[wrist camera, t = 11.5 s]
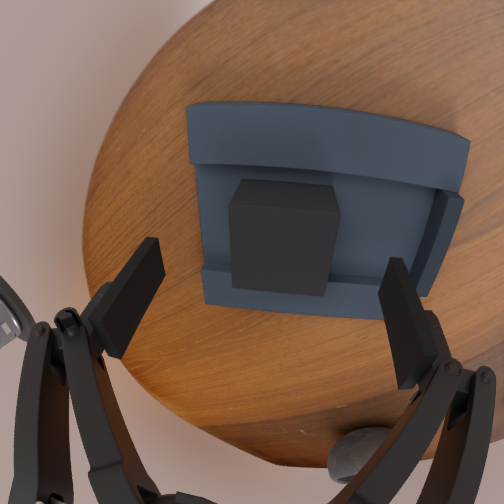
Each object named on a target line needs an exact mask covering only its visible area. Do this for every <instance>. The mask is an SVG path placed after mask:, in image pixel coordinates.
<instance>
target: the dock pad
mask: <svg viewBox="0 0 504 504" xmlns="http://www.w3.org/2000/svg"><path fill="white" fill-rule="evenodd" d="M186 110H187V128H188V144H189V158H190V164H195V166H196V180H197V192H198V204H199V215H200V225H201V235H202V245H203V254H204V264H203V266H202V268H201V274H202V282H203V289H204V296H205V303H206V304H211V305H219V306H226V307H235V308H243V309H252V310H261V311H270V312H280V313H291V314H302V315H314V316H328V317H342V318H359V319H379V320H384V317H383V313H382V309H381V305H380V301H379V297H378V291H379V289H380V286H381V283H382V280H383V277H384V274H385V271H386V269H387V266H388V262H389V259H390V257H397V258H403V261H404V263H405V265H406V267H407V270H408V272H409V274H410V277H411V279H412V281H413V284H414V286H415V289H416V291H417V293H418V296H419V297H427V296H428V293H429V291H430V289H431V287H432V285H433V283H434V281H435V278H436V276H437V274H438V272H439V269H440V267H441V265H442V262H443V260H444V257H445V255H446V252H447V250H448V247H449V245H450V242H451V239H452V237H453V234H454V231H455V228H456V225H457V223H458V220H459V217H460V214H461V210H462V207H463V204H464V199H463V198H462V197H461V196H460V195H459V194H458V193H459V190H460V186H461V182H462V178H463V174H464V170H465V166H466V162H467V157H468V152H469V148H470V142H471V141H470V140H468V139H466V138H464V137H462V136H460V135H458V134H456V133H452V132H449V131H446V130H442V129H439V128H435V127H432V126H428V125H424V124H420V123H416V122H412V121H408V120H403V119H399V118H394V117H389V116H384V115H379V114H373V113H368V112H362V111H355V110H349V109H341V108H334V107H325V106H316V105H305V104H292V103H274V102H203V103H195V104H192V105H189V106H187V107H186ZM241 179H255V180H271V181H284V182H297V183H308V184H318V185H328V186H333V188H334V191H335V195H336V199H337V202H338V206H339V210H340V220H339V226H338V232H337V237H336V242H335V248H334V253H333V258H332V263H331V267H330V272H329V277H328V281H327V286H326V290H325V295H324V297H320V296H308V295H297V294H286V293H276V292H266V291H256V290H246V289H237V288H232V278H231V257H230V235H229V210H228V204H229V202H230V200H231V198H232V197H233V195H234V193H235V191H236V189H237V187H238V185H239V183H240V181H241Z"/></svg>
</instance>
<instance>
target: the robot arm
mask: <svg viewBox="0 0 504 504" xmlns="http://www.w3.org/2000/svg"><path fill="white" fill-rule="evenodd" d="M165 275H166V274H165V270H164V265H163V260H162V256H161V251H160V246H159V241H158V238H154V237H146V238H145V239H144V241H143V242H142V243H141V245H140V246H139V247H138V249H137V250H136V251H135V252H134V254H133V255H132V256H131V258H130V259H129V260H128V262H127V263H126V264H125V266H124V267H123V269H122V270H121V271H120V273H119V274H118V275H117V277H116V278H115V280H114V281H113V282H106V283H105V284H104V285H102V286H101V287H100V288H99V289H98V291H97V292H96V294H95V295H94V296H93V298H92V299H91V301H90V302H89V303H88V305H87V307H86V308H85V310H84V311H83V312H82V314H81V315H80V316H79V314H78V312H77V310H76V309H74V308H71V307H68V308H64V309H63V310H60V311H59V312H58V313H57V315H56V316H55V318H54V323H55V324H56V326H57V328H53V329H51V327H50V325H49V324H48V323H47V322H39V323H37V324H35V325H34V326H33V327H32V329H31V331H30V334H29V338H28V342H27V347H26V351H25V356H24V361H23V366H22V372H21V378H20V384H19V391H18V398H17V407H16V417H15V431H14V478H13V482H12V487H11V491H10V496H9V501H8V504H73V500H74V497H73V496H74V492H73V481H72V472H71V461H70V443H69V390H70V395H71V400H72V404H73V409H74V412H75V417H76V421H77V425H78V428H79V432H80V436H81V438H82V442H83V445H84V449H85V452H86V455H87V458H88V461H89V464H90V471H89V472H88V477H89V480H90V484H91V486H92V489H93V491H94V493H95V496H96V498H97V501H98V503H99V504H217V503H214V502H212V501H210V500H207V499H205V498H202V497H198V496H194V495H190V494H185V493H181V492H177V493H176V494H166V495H161V494H160V492H159V490H158V488H157V487H156V485H155V483H154V482H153V480H152V479H151V478H150V477H149V475H148V474H147V472H146V470H145V468H144V466H143V464H142V462H141V460H140V458H139V456H138V453H137V451H136V449H135V447H134V444H133V442H132V440H131V437H130V435H129V432H128V430H127V427H126V425H125V422H124V420H123V417H122V414H121V411H120V409H119V406H118V403H117V400H116V397H115V395H114V391H113V388H112V385H111V382H110V379H109V375H108V372H107V369H106V365H105V362H104V358H103V356H102V355H101V354H102V353H103V350H104V349H105V351H106V353H107V354H108V356H110V357H114V358H118V359H122V357H123V355H124V353H125V351H126V349H127V347H128V345H129V343H130V341H131V339H132V337H133V335H134V333H135V331H136V329H137V327H138V325H139V323H140V321H141V319H142V318H143V316H144V314H145V312H146V310H147V308H148V306H149V304H150V303H151V301H152V299H153V297H154V295H155V293H156V292H157V290H158V288H159V286H160V284H161V283H162V281H163V279H164V277H165ZM378 297H379V301H380V305H381V309H382V313H383V317H384V321H385V325H386V329H387V334H388V338H389V343H390V347H391V352H392V357H393V362H394V367H395V373H396V378H397V384H398V390H401V389H412V388H413V387H414V386H415V385H416V384H417V382H418V385H419V390H418V391H417V392H416V393H415V394H414V395H413V397H412V398H411V399H410V400H411V402H410V403H409V405H408V407H407V408H406V410H405V411H404V413H403V414H402V416H401V417H400V419H399V420H398V422H397V423H396V424H395V426H394V427H393V429H392V430H391V432H390V433H389V434H388V436H387V437H386V438H385V440H384V441H383V442H382V444H381V445H380V446H379V448H378V449H377V450H376V451H375V453H374V454H373V455H372V456H371V458H370V459H369V460H368V461H367V462H366V464H365V465H364V466H363V467H362V468H361V470H360V471H359V472H358V473H357V474H356V475H355V476H354V477H353V479H352V480H351V481H350V482H349V483H348V484H347V485H346V486H345V487H344V488H343V489H342V490H341V491H340V493H339V494H338V495H337V496H336V497H335V498H334V499H332V501H330V502H329V503H328V504H389V503H390V501H391V500H392V499H393V497H394V496H395V495H396V494H397V492H398V491H399V489H400V488H401V487H402V486H403V484H404V483H405V481H406V480H407V479H408V477H409V476H410V474H411V473H412V471H413V470H414V468H415V467H416V465H417V464H418V462H419V461H420V459H421V457H422V456H423V454H424V453H425V451H426V449H427V448H428V446H429V444H430V443H431V441H432V439H433V437H434V435H435V434H436V432H437V430H438V428H439V426H440V424H441V422H442V421H443V419H444V417H445V415H446V417H445V421H444V425H443V429H442V433H441V436H440V440H439V443H438V447H437V450H436V453H435V456H434V459H433V462H432V465H431V468H430V471H429V474H428V476H427V479H426V482H425V484H424V487H423V489H422V492H421V494H420V497H419V499H418V501H417V503H416V504H474V502H475V499H476V496H477V493H478V489H479V486H480V482H481V478H482V475H483V471H484V467H485V462H486V458H487V453H488V448H489V443H490V437H491V431H492V424H493V416H494V406H495V394H496V376H495V374H494V372H493V371H492V369H490V368H489V367H487V366H482V367H480V368H479V369H478V370H477V371H476V372H474V371H470V370H466V369H463V367H462V365H461V364H460V362H459V361H458V360H456V359H454V358H452V356H451V353H450V350H449V347H448V345H447V342H446V339H445V336H444V334H443V331H442V328H441V325H440V323H439V320H438V318H437V317H436V315H435V314H434V313H433V312H432V311H430V310H424V309H423V306H422V304H421V301H420V298H419V296H418V293H417V291H416V289H415V286H414V284H413V281H412V279H411V277H410V274H409V272H408V270H407V267H406V265H405V263H404V261H403V258H397V257H390V259H389V262H388V266H387V269H386V271H385V274H384V277H383V280H382V283H381V286H380V289H379V291H378ZM22 330H23V328H22V324H21V322H20V320H19V318H18V317H17V315H16V313H15V312H14V310H13V309H12V308H11V306H10V305H9V304H8V303H7V301H6V300H5V299H4V298H3V297H2V296H1V295H0V349H1V348H2V347H3V346H4V345H6V344H7V343H9V342H10V341H12V340H13V339H15V338H16V337H17V336H19V334H20V333H21V332H22Z"/></svg>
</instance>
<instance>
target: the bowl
mask: <svg viewBox="0 0 504 504" xmlns="http://www.w3.org/2000/svg"><path fill="white" fill-rule="evenodd" d="M391 430H392V429H389V428H385V427H366V428H361V429H357V430H354V431H351V432H349V433H347V434H346V435H344V436H343V437H341V438H340V439H339V440H338V441H337V442H336V443H335V444H334V445H333V447H332V449H331V450H330V452H329V455H328V460H327V467H328V471H329V474H330V477H331V478H332V480H333V481H335V482H338V483H341V484H348V483H349V482H350V481H351V480H352V479H353V477H354V476H355V475H356V474H357V473H358V472H359V471H360V470H361V468H362V467H363V466H364V465H365V464H366V462H367V461H368V460H369V459H370V458H371V456H372V455H373V454H374V453H375V451H376V450H377V449H378V448H379V446H380V445H381V444H382V442H383V441H384V440H385V438H386V437H387V436H388V434H389V433H390V432H391Z"/></svg>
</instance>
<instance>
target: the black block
mask: <svg viewBox="0 0 504 504" xmlns="http://www.w3.org/2000/svg"><path fill="white" fill-rule="evenodd" d="M228 210H229V235H230V257H231V278H232V288H237V289H246V290H256V291H266V292H276V293H286V294H297V295H308V296H320V297H324V295H325V290H326V286H327V281H328V277H329V272H330V267H331V263H332V258H333V253H334V248H335V242H336V237H337V232H338V226H339V220H340V210H339V206H338V202H337V199H336V195H335V191H334V188H333V186H328V185H318V184H308V183H297V182H284V181H271V180H255V179H241V181H240V183H239V185H238V187H237V189H236V191H235V193H234V195H233V197H232V198H231V200H230V202H229V204H228Z"/></svg>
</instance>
